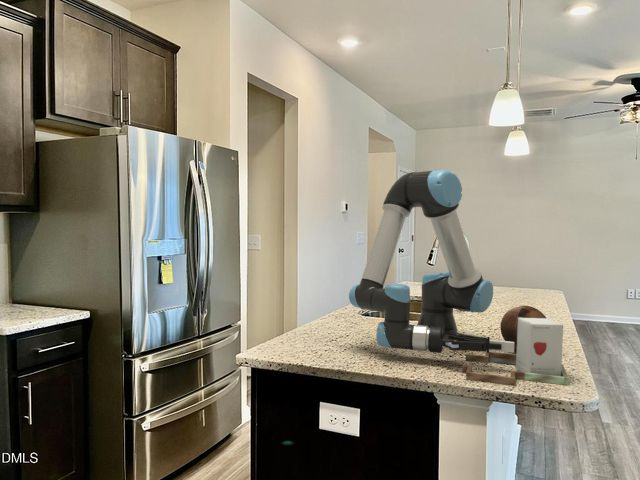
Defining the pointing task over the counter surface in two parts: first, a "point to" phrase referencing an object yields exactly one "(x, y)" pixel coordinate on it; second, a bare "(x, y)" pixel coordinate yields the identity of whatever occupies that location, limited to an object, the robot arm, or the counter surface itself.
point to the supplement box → (539, 346)
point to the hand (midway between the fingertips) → (514, 347)
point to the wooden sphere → (511, 321)
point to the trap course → (511, 360)
